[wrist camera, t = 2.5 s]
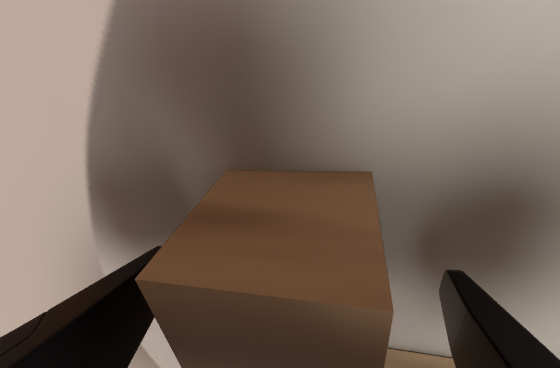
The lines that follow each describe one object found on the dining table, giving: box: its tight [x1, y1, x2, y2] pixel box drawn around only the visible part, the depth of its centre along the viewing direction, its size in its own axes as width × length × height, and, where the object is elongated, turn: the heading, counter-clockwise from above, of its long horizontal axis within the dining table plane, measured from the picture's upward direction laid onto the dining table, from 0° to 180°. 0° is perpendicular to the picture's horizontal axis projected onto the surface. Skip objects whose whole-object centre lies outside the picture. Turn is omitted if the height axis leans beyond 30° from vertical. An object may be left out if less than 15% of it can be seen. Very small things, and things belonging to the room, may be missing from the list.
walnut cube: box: [135, 171, 393, 368], centre depth 8 cm, size 5×5×5 cm
